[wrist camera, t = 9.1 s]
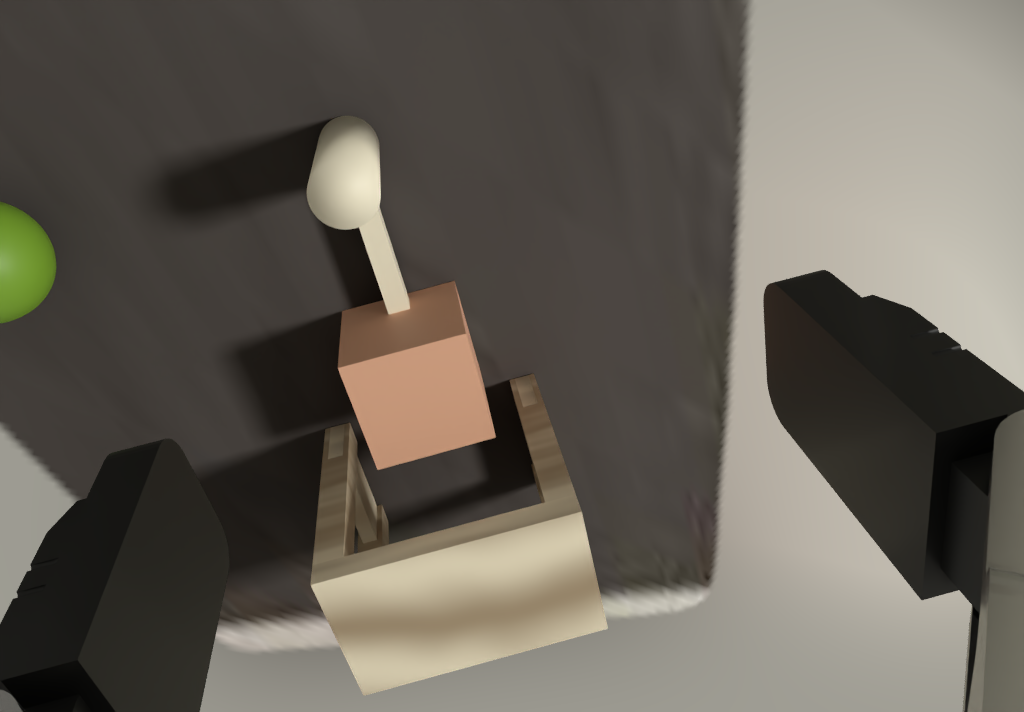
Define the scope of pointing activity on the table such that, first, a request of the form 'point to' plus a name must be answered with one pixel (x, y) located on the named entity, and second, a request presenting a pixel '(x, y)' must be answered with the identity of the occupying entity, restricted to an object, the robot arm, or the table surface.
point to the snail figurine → (23, 263)
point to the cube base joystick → (396, 321)
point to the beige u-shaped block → (452, 569)
